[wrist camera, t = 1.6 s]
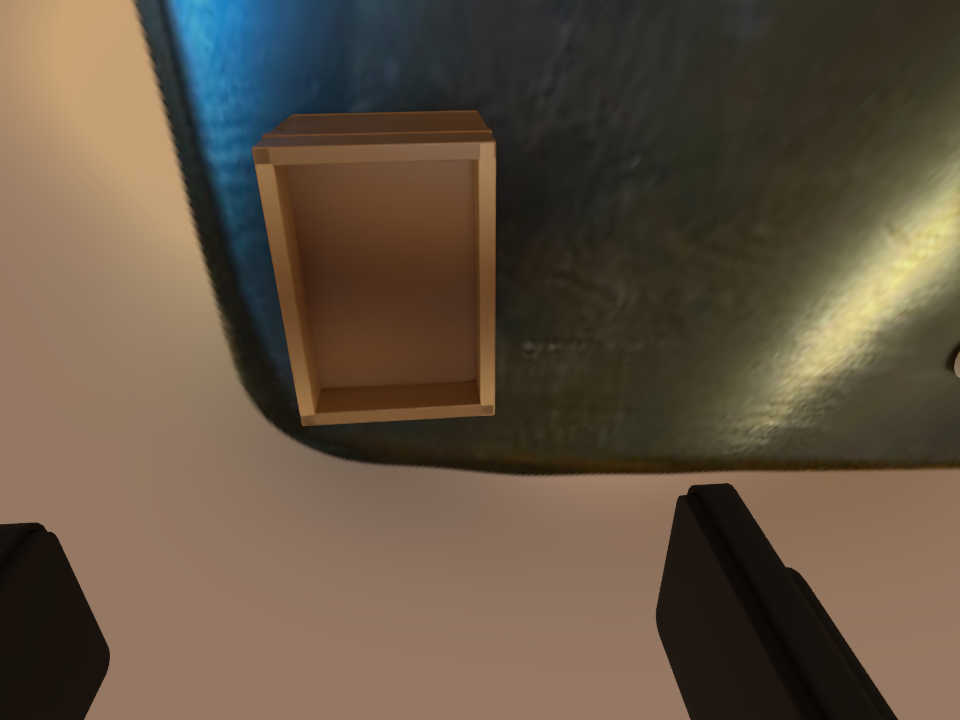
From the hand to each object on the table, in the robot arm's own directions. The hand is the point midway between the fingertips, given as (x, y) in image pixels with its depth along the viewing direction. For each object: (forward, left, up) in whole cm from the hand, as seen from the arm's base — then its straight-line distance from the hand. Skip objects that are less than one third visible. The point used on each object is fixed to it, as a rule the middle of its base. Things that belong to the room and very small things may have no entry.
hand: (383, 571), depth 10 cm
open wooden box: (0, 0, -17) cm, 17 cm away
